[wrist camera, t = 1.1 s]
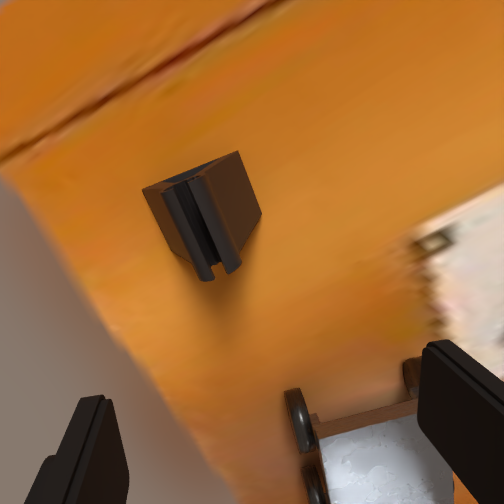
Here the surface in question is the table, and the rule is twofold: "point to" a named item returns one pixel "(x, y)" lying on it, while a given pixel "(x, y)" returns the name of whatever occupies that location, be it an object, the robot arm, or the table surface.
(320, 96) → the table surface
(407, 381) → the trolley
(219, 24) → the table surface
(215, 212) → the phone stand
